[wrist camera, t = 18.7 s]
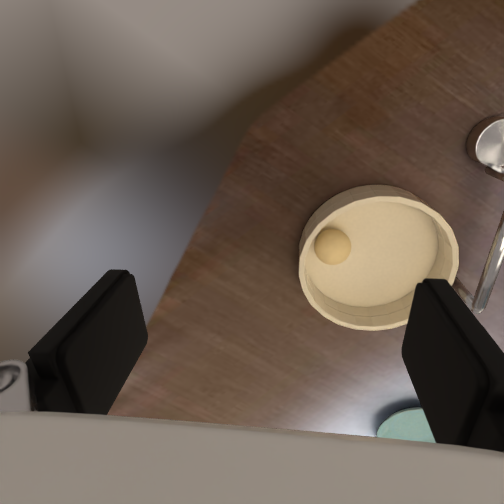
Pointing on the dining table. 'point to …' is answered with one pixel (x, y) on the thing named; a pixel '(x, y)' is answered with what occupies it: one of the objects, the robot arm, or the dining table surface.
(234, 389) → the dining table surface
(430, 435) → the saucer
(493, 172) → the ladle
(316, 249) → the tan ball
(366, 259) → the bowl
